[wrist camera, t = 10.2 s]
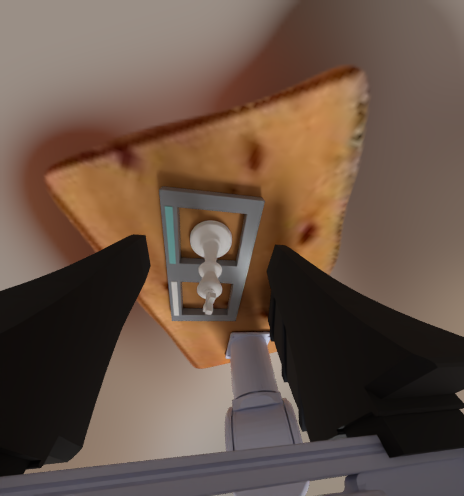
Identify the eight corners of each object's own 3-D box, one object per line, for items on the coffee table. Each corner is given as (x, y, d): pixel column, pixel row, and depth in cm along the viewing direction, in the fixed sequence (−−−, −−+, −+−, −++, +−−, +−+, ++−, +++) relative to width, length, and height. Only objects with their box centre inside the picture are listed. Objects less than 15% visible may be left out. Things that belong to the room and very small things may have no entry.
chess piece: (238, 228, 19) (256, 296, 11) (223, 260, 22) (228, 336, 14) (196, 214, 18) (181, 280, 10) (185, 249, 20) (165, 327, 12)
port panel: (234, 314, 28) (235, 321, 27) (173, 314, 27) (171, 321, 26) (262, 197, 18) (265, 201, 17) (162, 186, 16) (158, 189, 15)
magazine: (266, 339, 31) (307, 447, 16) (262, 269, 29) (304, 318, 14) (287, 336, 31) (346, 441, 16) (284, 267, 29) (348, 313, 14)
